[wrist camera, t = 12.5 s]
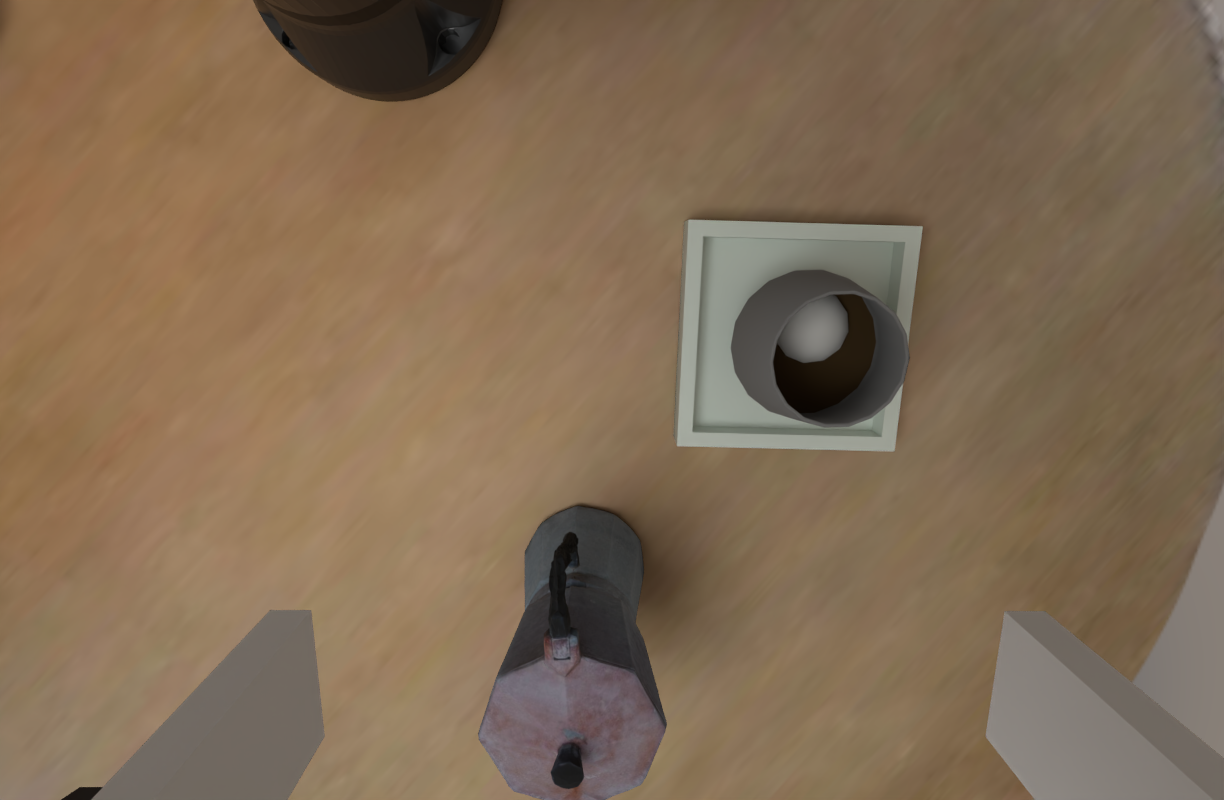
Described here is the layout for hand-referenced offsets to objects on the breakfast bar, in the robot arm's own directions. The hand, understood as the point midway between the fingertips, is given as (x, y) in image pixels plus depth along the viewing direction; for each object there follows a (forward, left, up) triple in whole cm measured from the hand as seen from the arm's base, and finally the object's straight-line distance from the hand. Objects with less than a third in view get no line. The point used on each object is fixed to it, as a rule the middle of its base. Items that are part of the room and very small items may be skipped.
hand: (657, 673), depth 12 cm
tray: (-3, +11, -34) cm, 36 cm away
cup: (-3, +11, -34) cm, 36 cm away
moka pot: (+14, -3, -35) cm, 38 cm away
